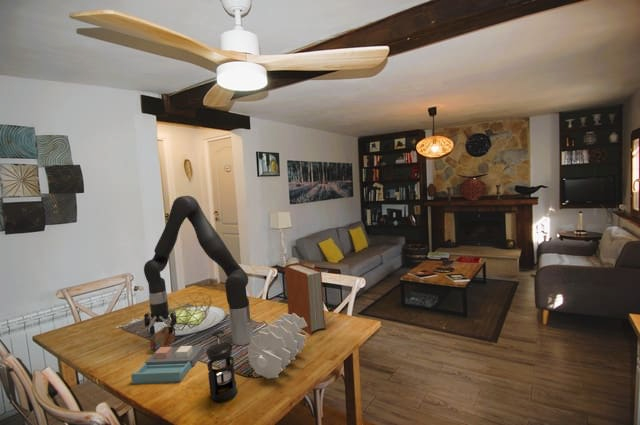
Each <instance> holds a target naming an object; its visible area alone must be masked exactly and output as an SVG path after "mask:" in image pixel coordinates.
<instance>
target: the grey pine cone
mask: <svg viewBox="0 0 640 425" xmlns="http://www.w3.org/2000/svg"><path fill="white" fill-rule="evenodd" d="M306 326H307V324H306V322H305V320H304V318H303V317H302V318H299V317H298V316H297V315H296V314H294V313H293V314H292V315H290V314H288V313H285V312H284V313H282V316H279V317H277V318H275V319H274V320H273V322H272V323H270V324H267V326H266V327H263V328H260V331H259V332H258V334H256V335H253V337H251V342H250V343H248V345H247V347H246V348H247V349H248V350H247V353H248V356H247V359H248V363H249V364H250V367H252V369H253V370H254V371H255V372H256V374H257V375H258V376H262V377H264V378H266V379H268V380H270V379H276V378H277V379H278V378H279V374H280V373H281V372H283V370H286V367H287V366H288V365H289V364H291V361H296V356H297V354H302V350H304V348H305V347H306V344H305V337H306V336H305V335H304V334H301V333H299V332H301V330H302V329H301V328H304V327H306Z"/></svg>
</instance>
